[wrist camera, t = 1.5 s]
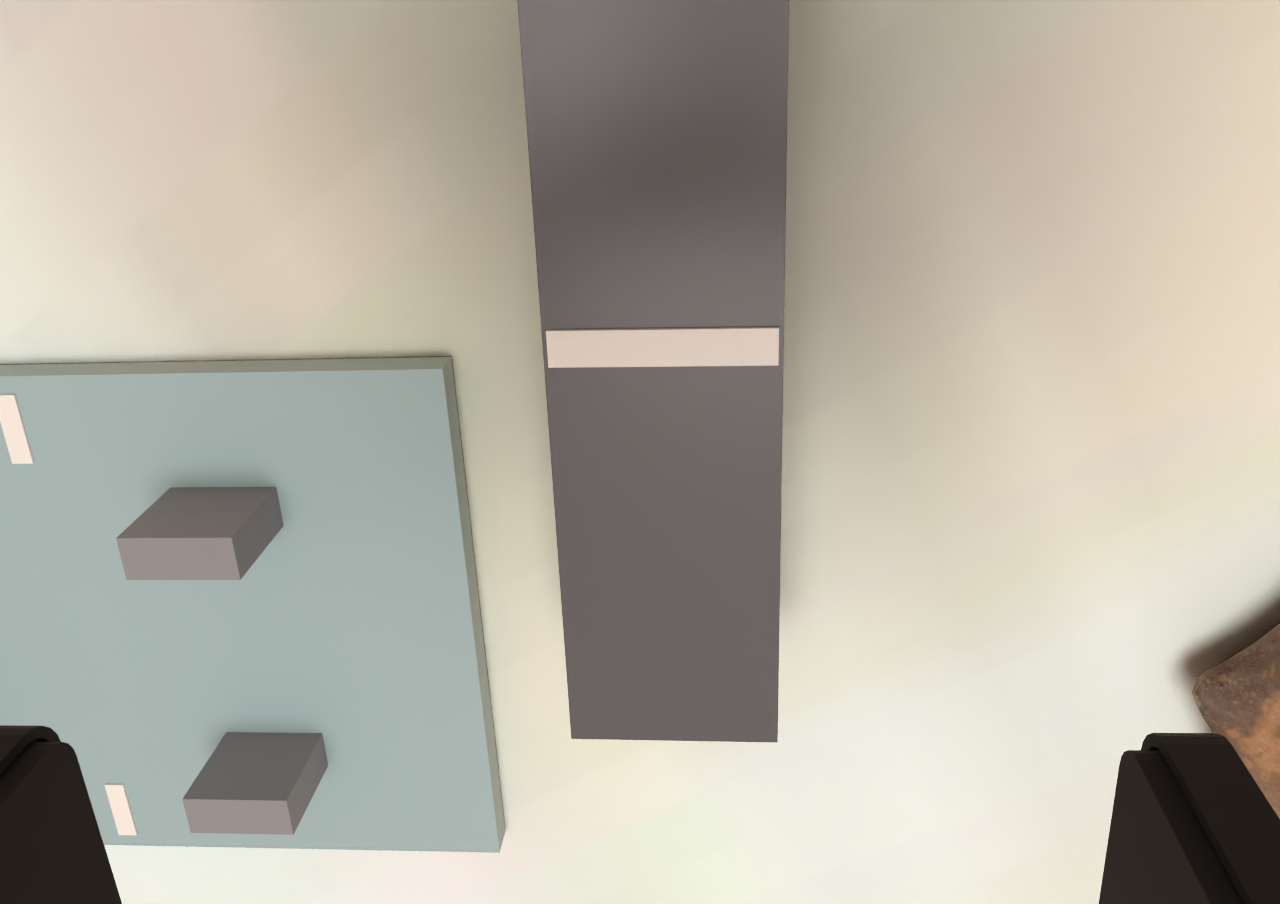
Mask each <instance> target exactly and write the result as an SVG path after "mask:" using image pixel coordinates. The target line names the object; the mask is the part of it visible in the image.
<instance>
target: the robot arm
mask: <svg viewBox="0 0 1280 904" xmlns="http://www.w3.org/2000/svg"><path fill="white" fill-rule="evenodd" d="M0 904H122V903H121V899H120V896H119V893H118V890H117V886H116V883H115V880H114V877H113V873H112V870H111V867H110V863H109V860H108V857H107V854H106V850H105V847H104V844H103V840H102V837H101V834H100V831H99V827H98V824H97V821H96V817H95V814H94V811H93V808H92V804H91V801H90V798H89V795H88V791H87V788H86V785H85V781H84V778H83V775H82V772H81V768H80V765H79V762H78V758H77V755H76V753H75V751H74V749H73V747H71V746H70V745H69V744H68V743H65V742H61V741H60V739H59V737H58V734H57V733H56V732H55V731H54V730H52V729H51V728H50V727H46V726H17V725H0ZM1099 904H1280V819H1279V817H1278V816H1277V814H1276V813H1275V811H1274V810H1273V808H1272V807H1271V805H1270V803H1269V802H1268V800H1267V799H1266V797H1265V796H1264V794H1263V793H1262V791H1261V789H1260V788H1259V786H1258V785H1257V783H1256V782H1255V780H1254V779H1253V777H1252V775H1251V774H1250V772H1249V771H1248V769H1247V768H1246V766H1245V765H1244V763H1243V761H1242V760H1241V758H1240V757H1239V755H1238V754H1237V752H1236V751H1235V749H1234V747H1233V746H1232V744H1231V743H1230V742H1229V741H1228V740H1227V739H1226V737H1225V736H1222V735H1220V734H1213V733H1152V734H1149V735H1147V736H1146V738H1145V740H1144V741H1143V744H1142V748H1141V751H1132V750H1128V751H1126V752H1124V754H1123V755H1122V757H1121V761H1120V766H1119V772H1118V779H1117V786H1116V793H1115V799H1114V806H1113V813H1112V819H1111V826H1110V833H1109V839H1108V846H1107V853H1106V859H1105V866H1104V873H1103V879H1102V886H1101V893H1100V900H1099Z"/></svg>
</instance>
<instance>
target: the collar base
mask: <svg viewBox="0 0 1280 904" xmlns="http://www.w3.org/2000/svg"><path fill="white" fill-rule="evenodd" d="M0 725H17V726H46V727H50V728H51V729H52V730H54V731H55V732H56V733H57V734H58V737H59V739H60V741H61V742H65V743H68V744H69V745H70V746H71V747H73V749H74V751H75V753H76V755H77V758H78V762H79V765H80V768H81V772H82V775H83V778H84V781H85V785H86V788H87V791H88V795H89V798H90V801H91V804H92V808H93V811H94V814H95V817H96V821H97V824H98V827H99V831H100V834H101V837H102V840H103V844H104V845H145V846H195V847H246V848H296V849H347V850H397V851H448V852H498V853H500V849H501V845H502V841H503V837H504V833H505V823H504V814H503V805H502V796H501V788H500V779H499V770H498V761H497V752H496V744H495V735H494V726H493V717H492V709H491V700H490V691H489V682H488V673H487V665H486V656H485V647H484V638H483V629H482V621H481V612H480V603H479V594H478V586H477V577H476V568H475V559H474V550H473V542H472V533H471V524H470V515H469V506H468V498H467V489H466V480H465V471H464V463H463V454H462V445H461V436H460V427H459V419H458V410H457V401H456V392H455V384H454V375H453V366H452V357H405V358H349V359H292V360H235V361H179V362H122V363H66V364H9V365H0Z"/></svg>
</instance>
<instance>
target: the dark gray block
mask: <svg viewBox="0 0 1280 904" xmlns="http://www.w3.org/2000/svg"><path fill="white" fill-rule="evenodd" d="M518 12H519V26H520V39H521V53H522V67H523V80H524V94H525V108H526V122H527V135H528V149H529V163H530V176H531V190H532V204H533V217H534V231H535V245H536V258H537V272H538V286H539V300H540V313H541V327H542V341H543V354H544V368H545V382H546V395H547V409H548V423H549V437H550V450H551V464H552V478H553V491H554V505H555V519H556V532H557V546H558V560H559V573H560V587H561V601H562V615H563V628H564V642H565V656H566V669H567V683H568V697H569V710H570V724H571V738H572V739H621V740H676V741H732V742H777V733H778V668H779V603H780V538H781V474H782V409H783V344H784V279H785V214H786V149H787V84H788V19H789V0H518Z"/></svg>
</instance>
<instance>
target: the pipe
mask: <svg viewBox="0 0 1280 904" xmlns="http://www.w3.org/2000/svg"><path fill="white" fill-rule="evenodd" d="M1192 693H1193V696H1194V699H1195V701H1196V704H1197V706H1198V708H1199V710H1200V712H1201V714H1202V716H1203V717H1204V719H1205V721H1206V722H1207V724H1208V725H1209V727H1210V728H1211V730H1212V732H1213V734H1220V735H1222V736H1225V737H1226V739H1227V740H1228V741H1229V742H1230V743H1231V744H1232V746H1233V747H1234V749H1235V751H1236V752H1237V754H1238V755H1239V757H1240V758H1241V760H1242V761H1243V763H1244V765H1245V766H1246V768H1247V769H1248V771H1249V772H1250V774H1251V775H1252V777H1253V779H1254V780H1255V782H1256V783H1257V785H1258V786H1259V788H1260V789H1261V791H1262V793H1263V794H1264V796H1265V797H1266V799H1267V800H1268V802H1269V803H1270V805H1271V807H1272V808H1273V810H1274V811H1275V813H1276V814H1277V816H1278V817H1279V819H1280V623H1279V624H1278V625H1277V626H1275V627H1274V628H1273V629H1271V630H1270V631H1269V632H1268V633H1266V634H1265V635H1264V636H1263V637H1261V638H1260V639H1259V640H1258V641H1256V642H1255V643H1253V644H1252V645H1250V646H1248V647H1247V648H1245V649H1244V650H1242V651H1240V652H1239V653H1237V654H1236V655H1234V656H1232V657H1231V658H1229V659H1228V660H1226V661H1225V662H1223V663H1221V664H1219V665H1216V666H1214V667H1213V668H1211V669H1209V670H1207V671H1205V672H1204V673H1202V674H1201V675H1200V676H1199V677H1198V679H1197V681H1196V684H1195V686H1194V689H1193V691H1192Z"/></svg>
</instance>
